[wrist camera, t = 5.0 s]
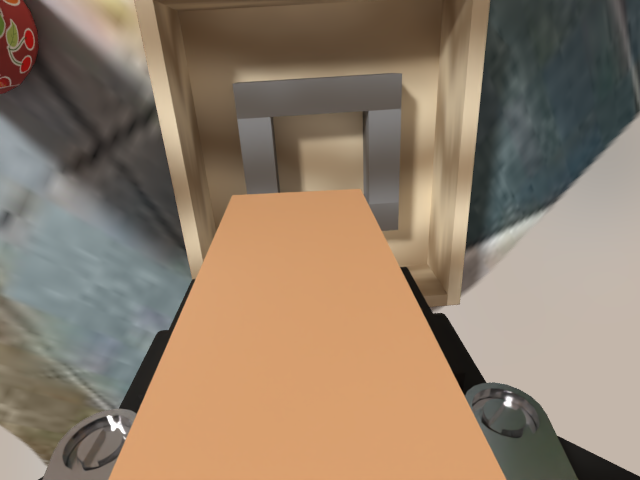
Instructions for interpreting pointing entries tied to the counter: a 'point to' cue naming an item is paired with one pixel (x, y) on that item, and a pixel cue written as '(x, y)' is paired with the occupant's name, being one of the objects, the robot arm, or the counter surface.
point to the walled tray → (324, 114)
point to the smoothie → (16, 43)
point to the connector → (303, 360)
